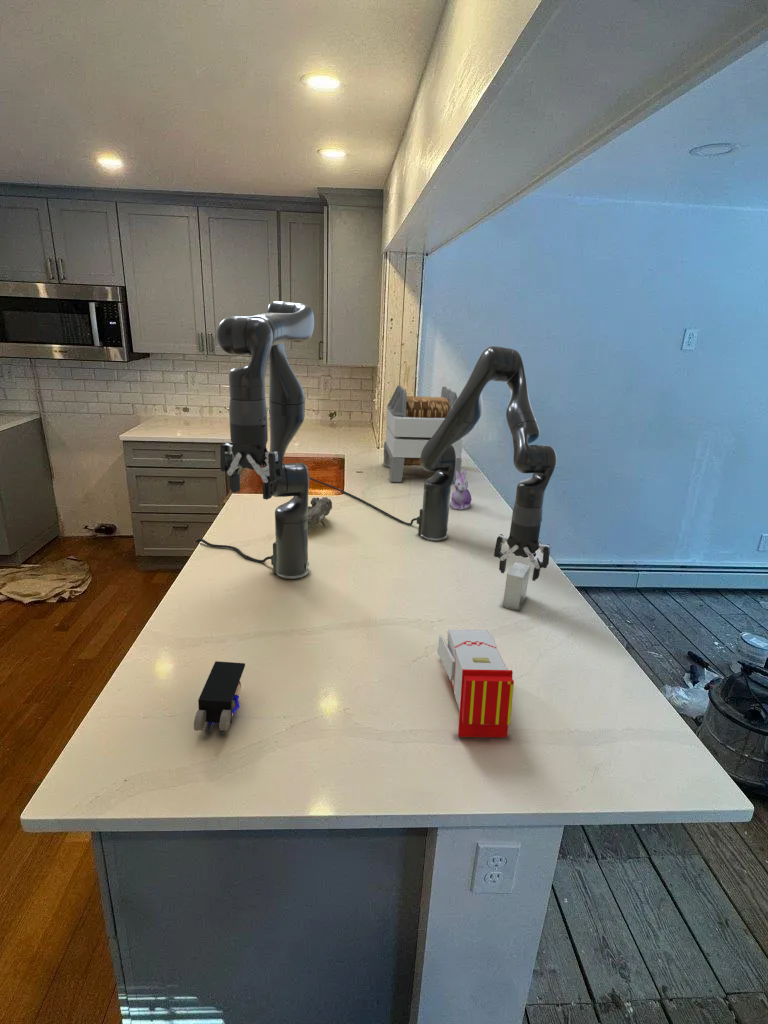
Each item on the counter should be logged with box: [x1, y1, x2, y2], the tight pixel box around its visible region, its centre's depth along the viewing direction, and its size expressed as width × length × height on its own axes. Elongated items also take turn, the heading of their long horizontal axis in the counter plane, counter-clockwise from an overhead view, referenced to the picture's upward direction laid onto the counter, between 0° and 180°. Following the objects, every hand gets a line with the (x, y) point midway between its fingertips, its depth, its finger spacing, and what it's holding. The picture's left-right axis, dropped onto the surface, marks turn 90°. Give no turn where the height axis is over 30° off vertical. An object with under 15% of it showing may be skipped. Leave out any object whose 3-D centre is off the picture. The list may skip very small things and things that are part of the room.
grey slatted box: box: [383, 384, 464, 484], centre depth 268 cm, size 34×33×41 cm
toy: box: [437, 628, 515, 738], centre depth 117 cm, size 12×13×30 cm
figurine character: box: [193, 660, 246, 736], centre depth 107 cm, size 7×8×15 cm
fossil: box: [308, 496, 333, 533], centre depth 202 cm, size 22×10×15 cm
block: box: [502, 561, 531, 612], centre depth 155 cm, size 4×9×10 cm, turn 154°
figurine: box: [450, 469, 472, 511], centre depth 228 cm, size 9×10×15 cm
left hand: (251, 495), depth 122 cm, fingers open, 8 cm apart
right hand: (518, 575), depth 154 cm, fingers open, 8 cm apart
